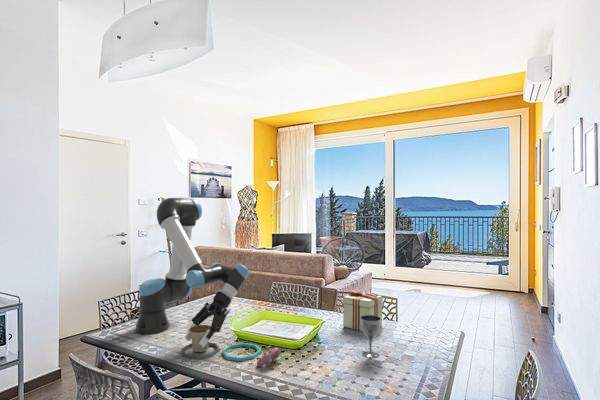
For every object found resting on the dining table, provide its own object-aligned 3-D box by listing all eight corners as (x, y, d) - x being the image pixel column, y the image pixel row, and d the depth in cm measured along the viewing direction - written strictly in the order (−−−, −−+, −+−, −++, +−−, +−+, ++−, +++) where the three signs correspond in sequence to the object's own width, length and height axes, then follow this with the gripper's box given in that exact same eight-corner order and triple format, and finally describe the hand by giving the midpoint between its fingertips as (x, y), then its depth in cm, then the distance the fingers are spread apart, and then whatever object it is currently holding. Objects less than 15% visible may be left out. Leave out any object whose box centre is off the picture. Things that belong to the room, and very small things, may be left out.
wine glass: (368, 360, 146) (368, 322, 146) (356, 352, 153) (356, 316, 153) (384, 356, 150) (384, 319, 150) (372, 349, 157) (372, 313, 157)
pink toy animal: (263, 372, 139) (270, 358, 137) (254, 364, 141) (261, 350, 139) (278, 363, 147) (285, 348, 145) (270, 355, 149) (276, 341, 147)
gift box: (385, 323, 190) (385, 289, 190) (371, 334, 175) (371, 297, 175) (354, 317, 199) (354, 285, 199) (339, 327, 184) (339, 292, 184)
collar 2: (219, 349, 156) (219, 346, 156) (253, 343, 162) (253, 341, 162) (228, 363, 143) (228, 360, 143) (264, 356, 149) (264, 353, 149)
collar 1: (179, 348, 158) (179, 345, 158) (214, 342, 164) (214, 339, 164) (184, 361, 144) (184, 358, 144) (222, 354, 151) (222, 351, 151)
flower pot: (205, 355, 149) (205, 333, 149) (184, 352, 151) (184, 331, 151) (215, 345, 158) (215, 325, 158) (195, 344, 160) (195, 324, 160)
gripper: (246, 305, 159) (216, 354, 147) (214, 296, 173) (184, 340, 161) (236, 295, 155) (205, 344, 143) (204, 286, 169) (173, 331, 157)
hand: (194, 342), depth 152 cm, fingers closed on flower pot, 9 cm apart
